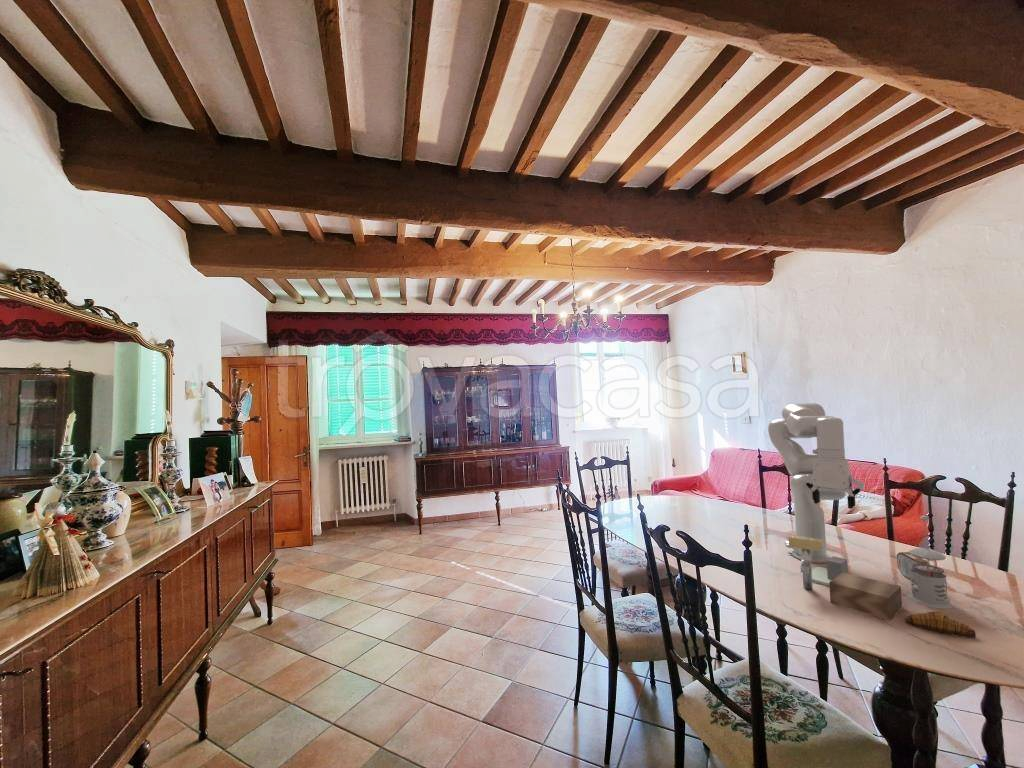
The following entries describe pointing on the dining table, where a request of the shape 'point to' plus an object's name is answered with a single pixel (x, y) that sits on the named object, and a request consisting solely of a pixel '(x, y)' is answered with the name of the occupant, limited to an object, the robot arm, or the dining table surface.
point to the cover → (830, 570)
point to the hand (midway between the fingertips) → (833, 505)
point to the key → (806, 555)
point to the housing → (866, 595)
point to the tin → (908, 564)
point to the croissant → (940, 624)
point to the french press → (928, 578)
